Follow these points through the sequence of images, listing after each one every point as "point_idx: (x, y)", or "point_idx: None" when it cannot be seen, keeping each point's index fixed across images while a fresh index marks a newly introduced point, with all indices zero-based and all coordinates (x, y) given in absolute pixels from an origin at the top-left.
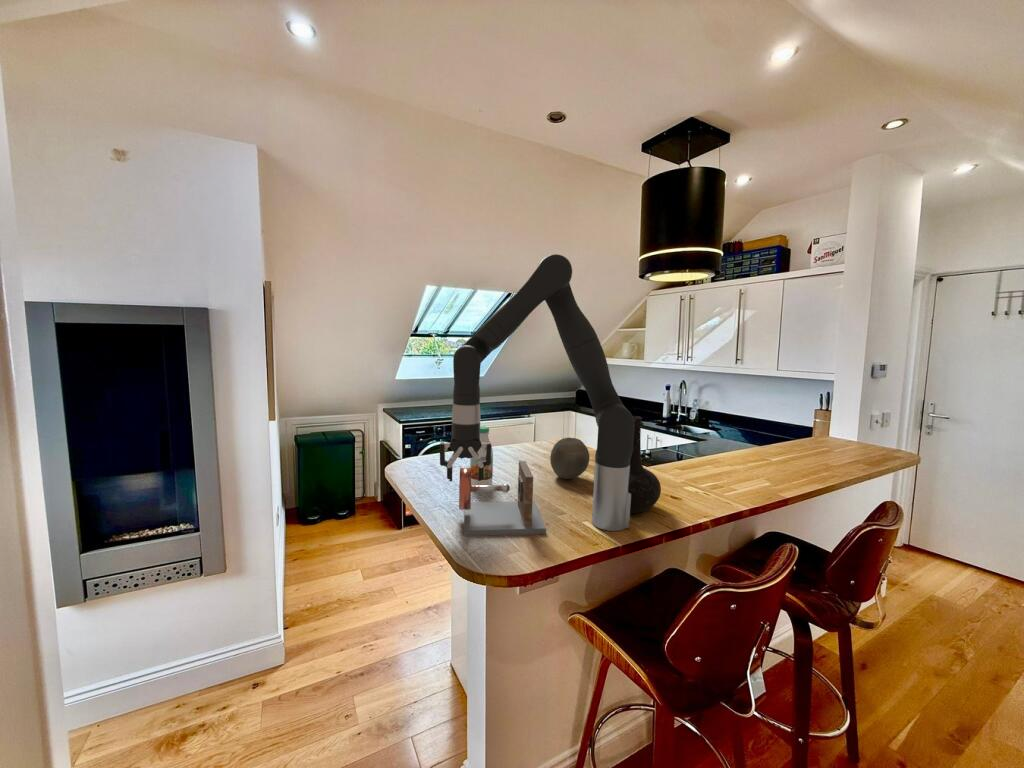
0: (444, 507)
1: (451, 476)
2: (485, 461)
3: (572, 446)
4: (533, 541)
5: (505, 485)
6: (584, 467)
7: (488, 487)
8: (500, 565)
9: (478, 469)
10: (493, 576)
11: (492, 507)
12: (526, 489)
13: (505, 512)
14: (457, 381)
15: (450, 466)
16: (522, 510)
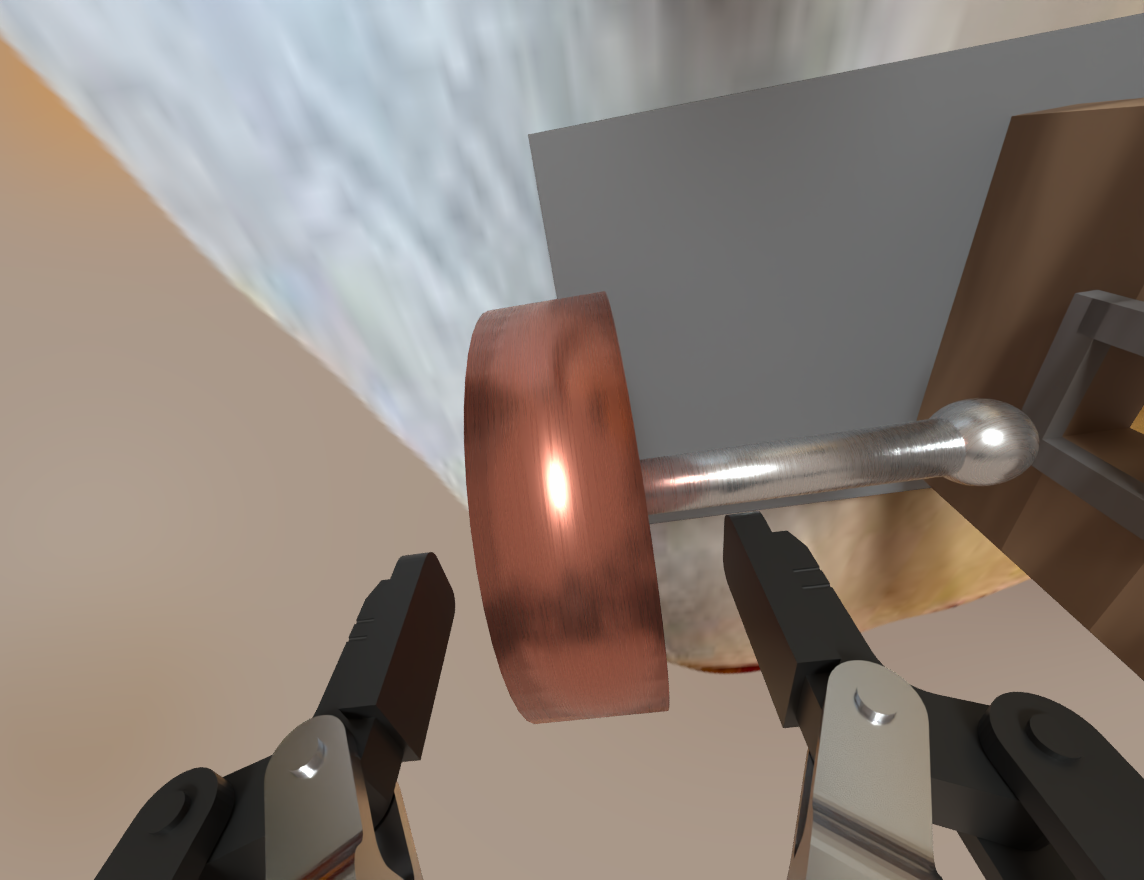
0: (371, 164)
1: (438, 652)
2: (965, 834)
3: None
4: (891, 518)
5: (993, 484)
6: None
7: (804, 493)
8: (730, 638)
9: (774, 697)
10: (704, 671)
11: (768, 230)
12: (1115, 645)
13: (848, 310)
14: None
15: (391, 800)
16: None
